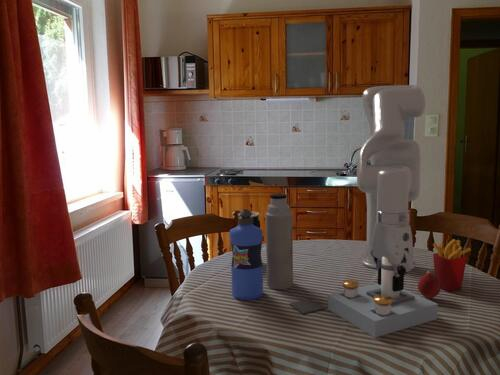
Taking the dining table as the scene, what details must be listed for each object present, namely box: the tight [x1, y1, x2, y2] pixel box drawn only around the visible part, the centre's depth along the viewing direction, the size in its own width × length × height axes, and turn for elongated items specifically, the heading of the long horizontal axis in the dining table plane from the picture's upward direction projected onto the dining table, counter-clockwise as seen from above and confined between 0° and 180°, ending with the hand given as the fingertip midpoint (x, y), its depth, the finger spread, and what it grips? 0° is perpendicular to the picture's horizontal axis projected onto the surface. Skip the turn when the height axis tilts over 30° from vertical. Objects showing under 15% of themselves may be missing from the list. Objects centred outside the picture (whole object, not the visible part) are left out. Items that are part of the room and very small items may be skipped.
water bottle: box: [229, 208, 264, 301], centre depth 129 cm, size 9×9×25 cm
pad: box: [288, 298, 326, 315], centre depth 121 cm, size 7×7×1 cm
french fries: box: [432, 238, 472, 293], centre depth 130 cm, size 9×8×15 cm
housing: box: [327, 282, 439, 339], centre depth 115 cm, size 20×18×5 cm
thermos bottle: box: [265, 193, 294, 290], centre depth 136 cm, size 8×8×28 cm
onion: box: [417, 270, 442, 300], centre depth 123 cm, size 6×6×8 cm
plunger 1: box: [341, 279, 360, 300], centre depth 118 cm, size 4×4×7 cm
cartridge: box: [381, 256, 401, 300], centre depth 116 cm, size 5×5×15 cm
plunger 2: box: [374, 295, 392, 317], centre depth 107 cm, size 4×4×7 cm
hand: (390, 286), depth 116 cm, fingers closed on cartridge, 4 cm apart
